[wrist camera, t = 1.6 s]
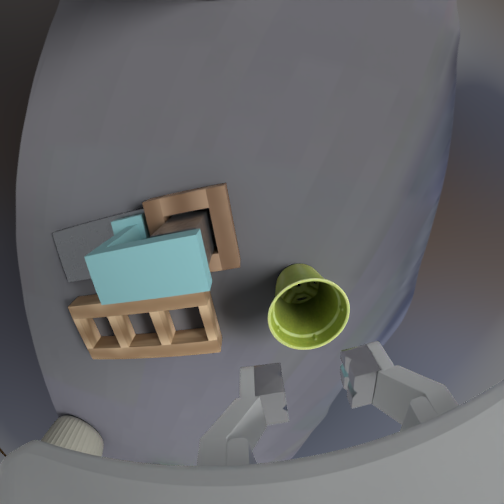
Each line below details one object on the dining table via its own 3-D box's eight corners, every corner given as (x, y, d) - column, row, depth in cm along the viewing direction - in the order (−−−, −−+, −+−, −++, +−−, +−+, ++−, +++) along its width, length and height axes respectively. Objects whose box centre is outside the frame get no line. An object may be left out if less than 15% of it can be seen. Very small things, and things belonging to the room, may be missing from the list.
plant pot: (274, 320, 41) (280, 359, 33) (254, 263, 38) (256, 294, 30) (335, 301, 40) (354, 335, 32) (321, 242, 37) (342, 267, 29)
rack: (78, 296, 39) (67, 307, 36) (206, 278, 38) (203, 289, 35) (100, 347, 42) (93, 359, 39) (222, 337, 42) (220, 352, 38)
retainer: (211, 199, 33) (193, 222, 22) (222, 253, 36) (212, 301, 24) (114, 220, 34) (64, 250, 22) (128, 269, 36) (88, 315, 25)
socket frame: (226, 182, 34) (224, 185, 31) (240, 258, 37) (240, 267, 35) (54, 225, 35) (43, 230, 32) (73, 285, 38) (64, 293, 35)
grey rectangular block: (174, 214, 35) (149, 236, 26) (208, 207, 35) (195, 227, 26) (182, 248, 37) (162, 280, 27) (216, 242, 37) (206, 273, 27)
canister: (127, 448, 54) (108, 513, 34) (84, 447, 56) (63, 501, 36) (80, 403, 48) (46, 473, 28) (41, 406, 50) (10, 461, 30)
